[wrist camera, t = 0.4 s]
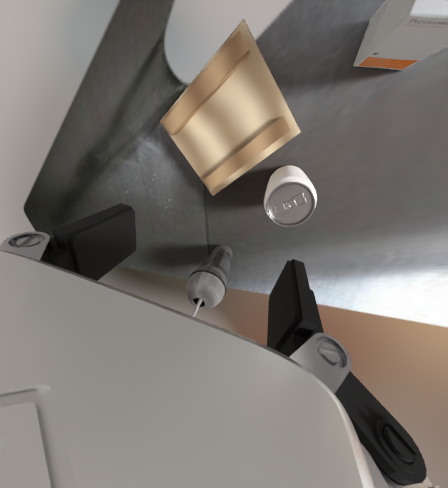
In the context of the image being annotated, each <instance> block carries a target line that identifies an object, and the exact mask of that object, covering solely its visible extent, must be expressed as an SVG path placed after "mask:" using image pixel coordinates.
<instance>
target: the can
mask: <svg viewBox="0 0 448 488" xmlns="http://www.w3.org/2000/svg"><path fill="white" fill-rule="evenodd" d="M316 202H317V194H316V190H315V188H314V186H313V184H312V183H311V181H310V180H309V179H308V177H307V176H306V175H305V173H304V172H303V171H302V170H301V169H300V168H298V167H296V166H283V167H281V168H279V169H277V170H276V171H275V172H274V173H273V174H272V175H271V177H270V179H269V182H268V185H267V189H266V193H265V197H264V207H265V211H266V213H267V215H268V216H269V217H270V219H271V220H272V221H273V222H274V223H276V224H278V225H280V226H284V227H294V226H297V225H300V224H302V223H304V222H305V221H306V220H308V219H309V217H310V216H311V215H312V213H313V211H314V209H315V206H316Z"/></svg>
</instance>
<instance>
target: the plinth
mask: <svg viewBox="0 0 448 488" xmlns="http://www.w3.org/2000/svg"><path fill="white" fill-rule="evenodd" d="M160 122H161V124H162V125H163V127H164V128H165V129H166V131H167V132H168V134H169V135H170V136H171V138H172V139H173V141H174V142H175V143H176V145H177V146H178V148H179V149H180V151H181V152H182V153H183V155H184V156H185V158H186V159H187V160H188V162H189V163H190V165H191V166H192V167H193V169H194V170H195V172H196V173H197V174H198V176H199V177H200V179H201V180H202V181H203V183H204V184H205V186H206V187H207V189H208V190H209V191H210V193H211V194H212V196H214V195H215V194H217V193H218V192H219V191H221V190H222V189H223V188H225V187H226V186H228V185H229V184H230V183H232V182H233V181H234V180H236V179H237V178H239V177H240V176H241V175H243V174H244V173H245V172H247V171H248V170H249V169H251V168H252V167H254V166H255V165H256V164H258V163H259V162H260V161H262V160H263V159H265V158H266V157H267V156H269V155H270V154H271V153H273V152H274V151H276V150H277V149H278V148H280V147H281V146H282V145H284V144H285V143H287V142H288V141H289V140H291V139H292V138H293V137H295V136H296V135H298V134H299V133H300V130H299V128H298V126H297V124H296V122H295V120H294V118H293V116H292V114H291V112H290V110H289V108H288V106H287V104H286V102H285V100H284V98H283V96H282V94H281V92H280V90H279V88H278V86H277V84H276V82H275V80H274V78H273V76H272V74H271V72H270V70H269V68H268V66H267V64H266V62H265V60H264V58H263V56H262V54H261V52H260V50H259V48H258V46H257V44H256V42H255V40H254V38H253V36H252V34H251V32H250V30H249V28H248V26H247V24H246V22H245V20H244V19H243V21H242V22H241V23H240V24H239V25H238V27H237V28H236V29H235V30H234V31H233V33H232V34H231V35H230V36H229V37H228V39H227V40H226V41H225V42H224V44H223V45H222V46H221V47H220V48H219V50H218V51H217V52H216V53H215V55H214V56H213V57H212V58H211V59H210V61H209V62H208V63H207V64H206V66H205V67H204V68H203V69H202V70H201V72H200V73H199V74H198V75H197V76H196V78H195V79H194V80H193V81H192V83H191V84H190V85H189V86H188V87H187V89H186V90H185V91H184V92H183V94H182V95H181V96H180V97H179V98H178V100H177V101H176V102H175V103H174V105H173V106H172V107H171V108H170V109H169V111H168V112H167V113H166V114H165V116H164V117H163V118H162V119H161V120H160Z"/></svg>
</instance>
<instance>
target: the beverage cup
mask: <svg viewBox="0 0 448 488" xmlns="http://www.w3.org/2000/svg"><path fill="white" fill-rule="evenodd" d="M232 256H233V253H232V250H231V249H230V248H229V247H228V246H226V245H218V246H217V247H216V248H215V249H214V250H213V251H212V252H211V253H210V255H209V256H208V257H207V258H206V260H205V261H204V262H203V263H202V265H201V266H200V267H199V268H198V269H197V270H196V271H195V272H193V273H192V274H191V275H190V277H189V280H188V283H187V288H186V291H187V296H188V299H189V300H190V302H191V303H192V304H193V305H194V306H196V307H195V309H194V311H193V313H192V315H191V316H192V317H195V315H196V313H197V310H198V308H201V309H208V308H212V307H214V306H216V305H217V304H218V303H219V302H220V301H221V300H222V298H223V297H224V295H225V293H226V285H227V278H228V274H229V270H230V265H231V261H232Z"/></svg>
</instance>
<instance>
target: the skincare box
mask: <svg viewBox="0 0 448 488" xmlns="http://www.w3.org/2000/svg"><path fill="white" fill-rule="evenodd" d="M446 47H448V0H385V1H384V2H383V3H382V5H381V6H380V7H379V8H378V10H377V11H376V12H375V14H374V15H373V16H372V17H371V19H370V21H369V24H368V26H367V29H366V32H365V34H364V37H363V40H362V43H361V46H360V48H359V51H358V54H357V57H356V59H355V62H354V65H353V66H354V67H372V68H384V69H393V70H405V69H407V68H408V67H410V66H412V65H414V64H416V63H418V62H420V61H422V60H424V59H426V58H427V57H429V56H431V55H433V54H435V53H437V52H439V51H441V50H443V49H444V48H446Z"/></svg>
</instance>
